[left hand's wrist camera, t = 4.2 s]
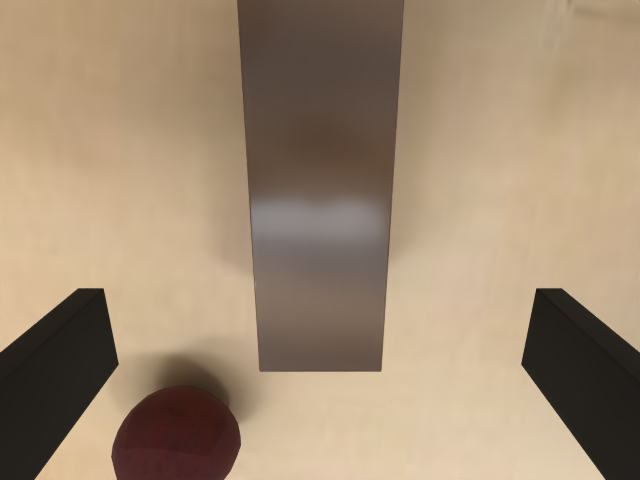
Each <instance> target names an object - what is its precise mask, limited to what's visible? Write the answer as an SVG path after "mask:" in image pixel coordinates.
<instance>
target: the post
mask: <svg viewBox="0 0 640 480" xmlns="http://www.w3.org/2000/svg"><path fill="white" fill-rule="evenodd" d="M237 5H238V22H239V38H240V55H241V71H242V88H243V104H244V121H245V138H246V154H247V171H248V187H249V204H250V220H251V237H252V254H253V270H254V287H255V303H256V320H257V336H258V353H259V370H260V372H381V370H382V353H383V337H384V321H385V304H386V288H387V272H388V255H389V239H390V223H391V207H392V190H393V174H394V158H395V141H396V125H397V109H398V92H399V76H400V60H401V44H402V27H403V11H404V0H237Z"/></svg>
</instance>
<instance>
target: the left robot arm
mask: <svg viewBox="0 0 640 480" xmlns="http://www.w3.org/2000/svg"><path fill="white" fill-rule="evenodd" d="M118 365H119V363H118V358H117V353H116V348H115V343H114V338H113V333H112V328H111V323H110V318H109V313H108V308H107V303H106V298H105V293H104V288H78V289H77V290H76V291H75V292H73V293H72V294H71V295H70V296H68V297H67V298H66V299H65V300H64V301H62V302H61V303H60V304H59V305H58V306H56V307H55V308H54V309H53V310H51V311H50V312H49V313H48V314H47V315H45V316H44V317H43V318H42V319H41V320H39V321H38V322H37V323H36V324H34V325H33V326H32V327H31V328H30V329H28V330H27V331H26V332H25V333H24V334H22V335H21V336H20V337H19V338H17V339H16V340H15V341H14V342H13V343H11V344H10V345H9V346H8V347H7V348H5V349H4V350H3V351H2V352H0V480H35V478H36V477H37V475H38V474H39V473H40V471H41V470H42V469H43V467H44V466H45V465H46V463H47V462H48V460H49V459H50V458H51V456H52V455H53V454H54V452H55V451H56V450H57V448H58V447H59V445H60V444H61V443H62V441H63V440H64V439H65V437H66V436H67V434H68V433H69V432H70V430H71V429H72V428H73V426H74V425H75V424H76V422H77V421H78V419H79V418H80V417H81V415H82V414H83V413H84V411H85V410H86V409H87V407H88V406H89V404H90V403H91V402H92V400H93V399H94V398H95V396H96V395H97V393H98V392H99V391H100V389H101V388H102V387H103V385H104V384H105V383H106V381H107V380H108V378H109V377H110V376H111V374H112V373H113V372H114V370H115V369H116V368H117V366H118ZM521 365H522V366H523V368H524V369H525V370H526V372H527V373H528V374H529V376H530V377H531V378H532V380H533V381H534V383H535V384H536V385H537V387H538V388H539V389H540V391H541V392H542V393H543V395H544V396H545V398H546V399H547V400H548V402H549V403H550V404H551V406H552V407H553V409H554V410H555V411H556V413H557V414H558V415H559V417H560V418H561V419H562V421H563V422H564V424H565V425H566V426H567V428H568V429H569V430H570V432H571V433H572V434H573V436H574V437H575V439H576V440H577V441H578V443H579V444H580V445H581V447H582V448H583V450H584V451H585V452H586V454H587V455H588V456H589V458H590V459H591V460H592V462H593V463H594V465H595V466H596V467H597V469H598V470H599V471H600V473H601V474H602V475H603V477H604V478H605V480H640V352H638V351H637V350H636V349H635V348H633V347H632V346H631V345H630V344H629V343H627V342H626V341H625V340H624V339H623V338H621V337H620V336H619V335H618V334H616V333H615V332H614V331H613V330H612V329H610V328H609V327H608V326H607V325H606V324H604V323H603V322H602V321H601V320H599V319H598V318H597V317H596V316H595V315H593V314H592V313H591V312H590V311H589V310H587V309H586V308H585V307H584V306H582V305H581V304H580V303H579V302H578V301H576V300H575V299H574V298H573V297H572V296H570V295H569V294H568V293H567V292H565V291H564V290H563V289H562V288H536V293H535V298H534V303H533V308H532V313H531V318H530V323H529V328H528V333H527V338H526V343H525V348H524V353H523V358H522V363H521Z"/></svg>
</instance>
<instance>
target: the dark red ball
mask: <svg viewBox="0 0 640 480" xmlns="http://www.w3.org/2000/svg"><path fill="white" fill-rule="evenodd" d="M240 446H241V437H240V431H239V427H238V423H237V421H236V419H235V417H234V416H233V414H232V413H231V411H230V410H229V409H228V407H227V406H226V405H225V404H223V403H222V402H221V401H220V400H218V399H217V398H216V397H214V396H213V395H212V394H210V393H207V392H205V391H202V390H200V389H197V388H195V387H185V386H175V387H170V388H164V389H162V390H159V391H157V392H155V393H153V394H150V395H148V396H147V397H146V398H144V399H143V400H142V401H141V402H140V403H138V404H137V405H136V406H135V407H134V408H133V409H132V410H131V411H130V413H129V414H128V415H127V417H126V418H125V419H124V421H123V423H122V425H121V426H120V428H119V430H118V432H117V435H116V438H115V441H114V444H113V448H112V456H111V458H112V462H113V466H114V470H115V474H116V477H117V480H224V479H225V478H226V476H227V475H228V474H229V472H230V471H231V469H232V467H233V464H234V462H235V460H236V457H237V455H238V452H239V449H240Z"/></svg>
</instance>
